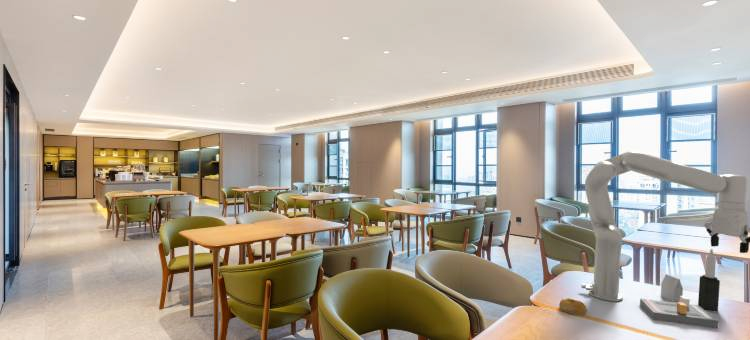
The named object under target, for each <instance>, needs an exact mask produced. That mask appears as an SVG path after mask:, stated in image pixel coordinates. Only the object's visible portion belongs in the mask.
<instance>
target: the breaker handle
mask: <svg viewBox="0 0 750 340" xmlns="http://www.w3.org/2000/svg"><path fill="white" fill-rule="evenodd" d="M676 303H677V311H678V312H679V313H680V314H687V305H686V304H684V303H682V302H676Z"/></svg>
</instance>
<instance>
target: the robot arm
mask: <svg viewBox="0 0 750 340" xmlns="http://www.w3.org/2000/svg"><path fill="white" fill-rule="evenodd" d="M630 171H631V172H635V173H638V174H641V175H645V176H648V177H649V178H651V177H652V178H654V179H658V180H661V181H664V182H667V183H673V184H678V185H683V186H685V187H688V188H692V189H696V190H698V191H700V192H704V193H709V194H718V201H715V205H717V207H716V208H715V209H714V212H713V214H712V220H711V222H708V223H704V227H705V229H706V232H707V234H708V235H709V236H710V247H719V244H720V243H719V242H720V237H719V235H724V236H729V237H733V238H734V237H736V238H738V239H740V241H741V242H740V243H739V253H740V254H745V253H746V254H747V253H748V252H749V247H750V236H748V235H749V234H750V226H749V216H748V211H747V210H746V200H747V199H746V197H747V182H748V179H747V177H746V176H745V175H742V174H717V173H714V172H709V171H707V170H704V169H700V168H699V169H698V168H695V167H692V166H688V165H685V164H683V163H682V164H681V163H680V162H676V161H673V160H669V159H665V158H662V157H659V156H655V155H651V154H647V153H644V152H640V151H638V150H636V151H635V150H632V151H631V150H630V151H626V152H623V153H621V154H618V155H615V156H613V157H611V158H607V159H603V160H602V161H601V160H600V161H599V162H597V163H596V164H594V166H593V167H592V169H591V170H590V171H589V172H588V174H587V176H586V178H585V182H584V189H585V194H586V198H587V203H588V215H589V219H590V222H591V227H592V230H593V234H594V237H595V250H594V265H593V266H594V267H593V268H594V271H593V282H591V283H589V284H585V283H581V289H585V290H586V291H589V292H588V293H589V295H590V296H592V297H594V298H596V299H598V300H602V301H607V302H620V301H622V300H623V297H624V296H623V295H622V294H621V293H620V292H619V291H620V288H619V287H620V275H621V274H620V272H621V271H620V269H621V252H622V245H623V236H622V234H621V232H620V230H619V229H618V227H617V224H616V221H615V210H614V207H613V205H612V202H611V198H610V195H609V194H610V193H609V190H608V185H609V182H610V181H611V180H613V179H614V178H615V177H616V176H620V175H623V174H626V173H629V172H630Z"/></svg>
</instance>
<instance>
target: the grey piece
mask: <svg viewBox="0 0 750 340" xmlns="http://www.w3.org/2000/svg"><path fill="white" fill-rule="evenodd" d="M682 285H683V284H682V283H681V279H680V278H677V277H674V276H672V275H670V274H667V273H666V274H665V275H664V277H663V279H662V282H661V287H660V297H662V298H664V299H666V300H668V301H669V302H673V303H677V302H680V296H684V295H683V294H684V293H683V292H684V288H683V286H682Z"/></svg>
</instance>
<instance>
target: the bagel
mask: <svg viewBox="0 0 750 340" xmlns="http://www.w3.org/2000/svg"><path fill="white" fill-rule="evenodd" d="M558 305H559V309H560V310H561V311H563V312H565V313H567V314H569V315H574V316H582V315H585V314H586V312H587V311H588V309H587V306H586V304H585V303H584V302H582V301H581V300H577V299H573V298H565V299H563V298H562V299H561V300H560V302H559V304H558Z"/></svg>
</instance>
